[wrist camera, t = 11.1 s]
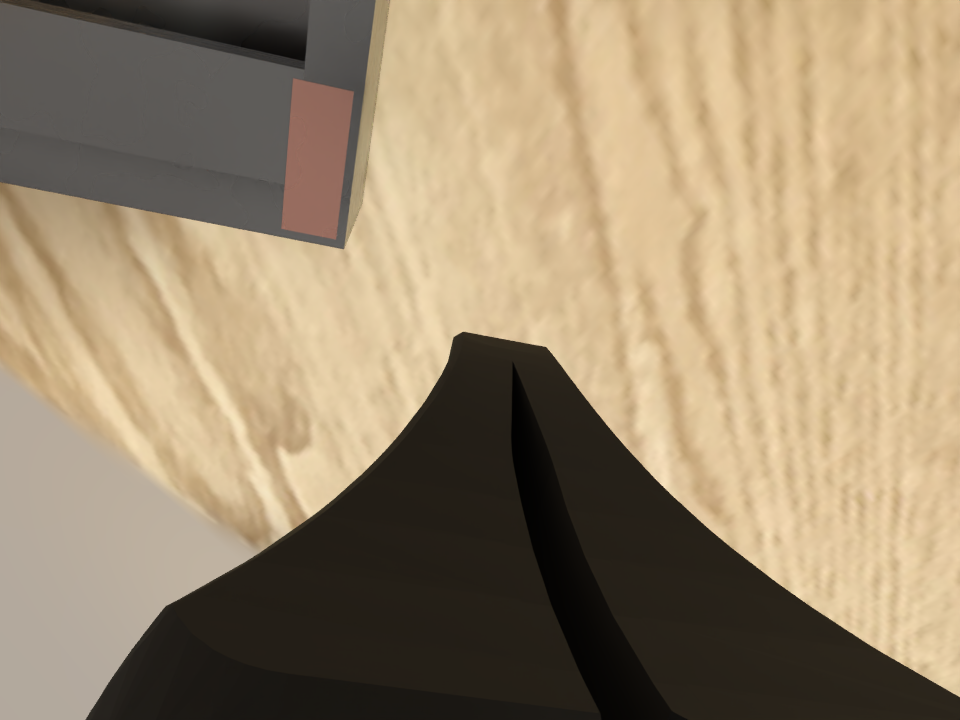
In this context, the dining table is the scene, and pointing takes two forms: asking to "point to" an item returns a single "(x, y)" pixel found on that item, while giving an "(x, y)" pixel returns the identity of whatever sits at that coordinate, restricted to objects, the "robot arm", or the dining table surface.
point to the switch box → (196, 107)
